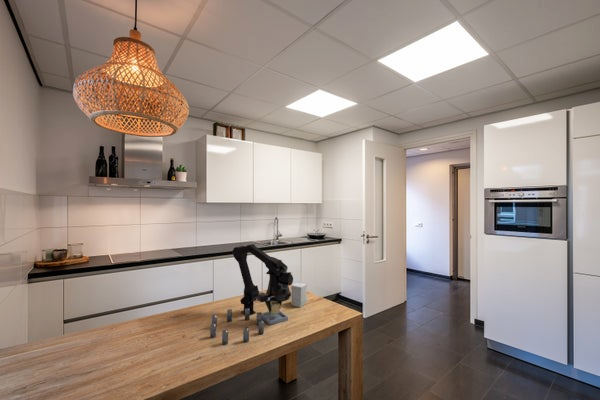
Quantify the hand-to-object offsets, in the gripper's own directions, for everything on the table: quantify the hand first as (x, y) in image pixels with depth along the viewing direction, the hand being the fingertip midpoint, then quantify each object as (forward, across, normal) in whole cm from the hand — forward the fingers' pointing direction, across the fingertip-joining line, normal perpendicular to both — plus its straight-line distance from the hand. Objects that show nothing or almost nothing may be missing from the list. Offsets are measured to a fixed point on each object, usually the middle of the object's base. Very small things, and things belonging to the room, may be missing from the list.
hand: (274, 310), depth 148 cm
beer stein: (+5, +17, +29) cm, 34 cm away
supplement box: (+5, +23, +10) cm, 26 cm away
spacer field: (+5, -22, -2) cm, 22 cm away
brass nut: (+1, 0, 0) cm, 1 cm away
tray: (+5, 0, 0) cm, 5 cm away
